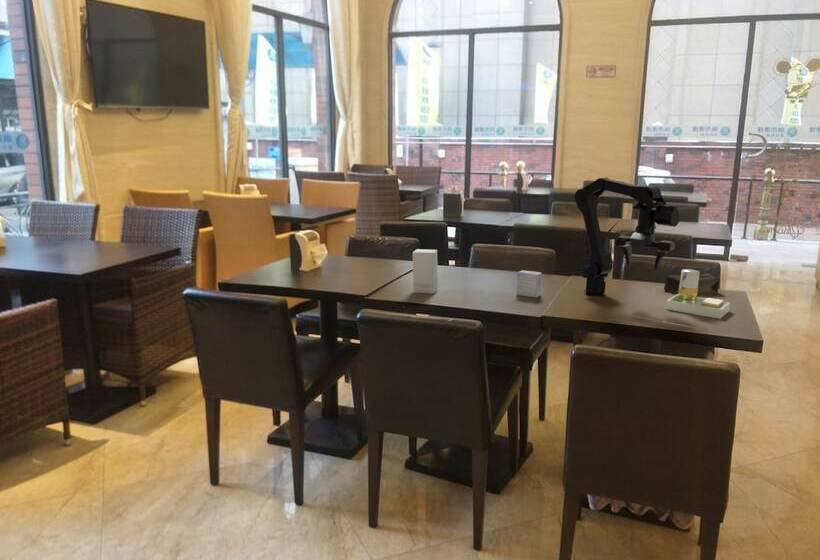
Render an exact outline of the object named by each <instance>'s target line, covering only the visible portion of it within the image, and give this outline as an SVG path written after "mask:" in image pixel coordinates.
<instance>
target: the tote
mask: <svg viewBox="0 0 820 560" xmlns="http://www.w3.org/2000/svg"><path fill="white" fill-rule="evenodd" d="M705 299H706V298H703V297H698V296H697V300H696V305H694V304H688V303H682V302H678V294H677V295H676V294H674V295H673V296H671V297H670V298H669V299H667V300H666V305H665V306H666V307H665V310H670V311H674V312H680V313H686V314H691V315H692V314H693V315H697V316H701V317H702V316H703V317H709V318H714V319H720V320H721V319H722V318H724V317H725V316H726V315H727V314H728V313H730V306H731V302H727V301H724V304H723V307H722V308H721V309H717V308H711V307H705V306H701V304H702V301H704V300H705Z"/></svg>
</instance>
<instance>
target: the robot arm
mask: <svg viewBox="0 0 820 560" xmlns="http://www.w3.org/2000/svg"><path fill="white" fill-rule="evenodd" d="M605 191H608V192H612V193H616V194H620V195H623V196H628V197H630V198H632V200H634V201H637V203H636V204H635V205H634V206H633V207H632V209H633V210H638V213H637V224H636V226H635V230H634V232H633V233H632V234H631V236H629V235H620V236H617V237H616V238H615V239H614V246H618V248H619V249H621V250H622V252H623V253H624V257H625V260H626V264H627V266H628V267H630V266H631V265H632V264H631V263H632V253H633V248H634V247H638V248H640V249H642V248H645V247H650V248H657V249H658V250H656V253H655V254H656V256H655V261H654V270H655V271H656V270H657V269H658V267H659V265H660V264H661V262H662V260H663V259H664V257H665V255H666V254H667V253H669V252H671V251H674V250H675V249H676V247H675V246H676V245H675V244H676V243H675V242H674V241H671V240H665V239H663V240H660V241H655V240H656V239H655V238H656V237H655V231H656V229H657V226H656V225H659V226H666V227H674V228H675V227H677V226H678V225H679V222H680V220H681V215H680V211H679V210H678V205H668V203H666V201H665V199H664V197H663V195H662V191H661V189H660V187H659V186H658V185H657V186H656V185H645V184H644V185H636V184H632V183H628V182H624V181H623V182H622V181H619V180H616V179H615V180H614V179H609V178H608V177H599V178H596V179H595V181H593V182H591V183H590V184H587V185H585V186H584V187H583V188H579V189H577V190H576V192H575V193H574V195H573V196H574V198H573V199H574V202H575V204H576V207H577V209H578V210H579V212H580V213H581V214H582V217H583V222H584V226H585V232H586V237H587V241H588V245H589V251H590V253H589V257H588V259H587V260H588V261H587V262H588V267H587V268H585V269H584V270H582V278H583V279H585V286H584V291H583V292H584V294H585V295H587V296H602V295H603V296H604V295H605V292H606V284H607V283H606V281H605V278H607V277H608V276H609V273H610V272H611V271H612V269H613V266H614V265H613V264H615V263H614V260H613V257H612V256H613V255H612V253H611V252H607V251H606V249H605V247H604V242H603V238H602V233H601V228H600V224H599V223H600V222H599V220H598V218H599V217H598V214H597V213H598V212H597V209H598V206H599V197H601V196H602V195H603V194H604V193H605Z"/></svg>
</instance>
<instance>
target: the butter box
mask: <svg viewBox="0 0 820 560" xmlns="http://www.w3.org/2000/svg"><path fill="white" fill-rule="evenodd" d="M704 299H705V300H704V301H702V304H701V306H705V307H711V308H717V309H721V308H722V307H723V304H724V302H725V301H724V299H717V298H713V297H707V298H704Z"/></svg>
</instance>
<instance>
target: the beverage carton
mask: <svg viewBox="0 0 820 560" xmlns="http://www.w3.org/2000/svg"><path fill="white" fill-rule="evenodd" d="M680 279H681V274H678V275H677V274H676V275H674V274H673V275H672V274H671V275H665V279H664V286H663V291H664V290H665V291H664V292H666V291H667V292H666V293H670V294H673V295H677V294H679V285H680ZM719 287H720V278H719V277H717V276H716V277H715V276H713V275H711V274H710V273H701V274H699V281H698V292H697V295H707V293H709V294H718V292H719Z"/></svg>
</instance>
